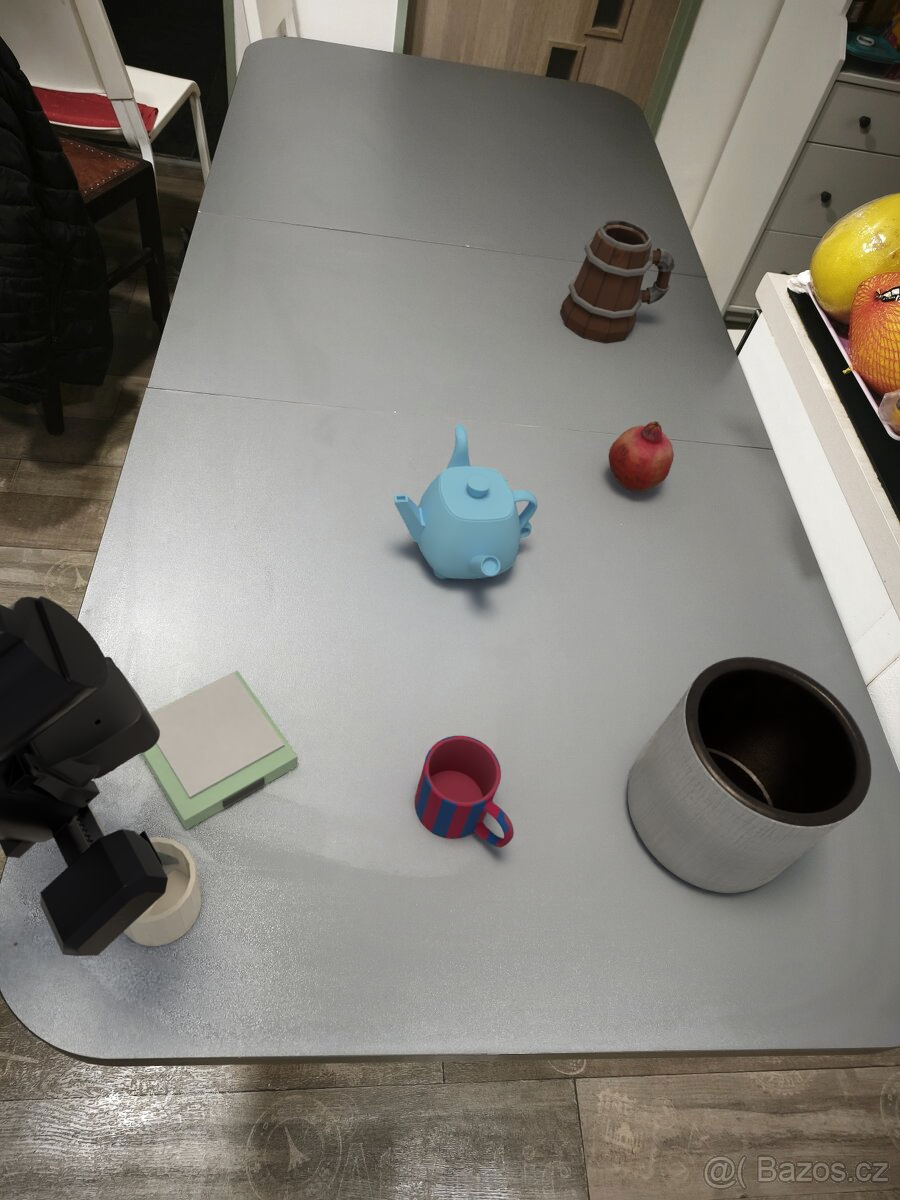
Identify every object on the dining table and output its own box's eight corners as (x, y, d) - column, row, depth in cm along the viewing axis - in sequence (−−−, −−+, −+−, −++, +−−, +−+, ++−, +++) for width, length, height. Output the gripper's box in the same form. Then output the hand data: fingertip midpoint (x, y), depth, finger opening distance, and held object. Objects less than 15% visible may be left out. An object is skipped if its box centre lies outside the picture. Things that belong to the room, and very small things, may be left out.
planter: (814, 883, 76) (913, 813, 64) (658, 911, 72) (733, 842, 60) (742, 732, 85) (816, 646, 73) (601, 749, 81) (655, 661, 69)
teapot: (371, 548, 93) (380, 475, 85) (445, 491, 101) (460, 418, 92) (477, 623, 89) (497, 554, 80) (545, 557, 97) (570, 488, 88)
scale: (187, 832, 70) (184, 820, 68) (129, 735, 74) (125, 722, 73) (298, 767, 75) (299, 755, 73) (238, 681, 80) (237, 667, 78)
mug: (570, 341, 127) (598, 249, 115) (554, 298, 134) (579, 207, 122) (663, 347, 130) (700, 258, 118) (643, 304, 137) (676, 217, 126)
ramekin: (139, 963, 63) (128, 940, 58) (104, 895, 65) (90, 867, 61) (216, 914, 66) (210, 888, 61) (179, 851, 69) (171, 821, 64)
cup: (459, 759, 78) (471, 723, 73) (522, 845, 74) (540, 813, 68) (400, 791, 75) (409, 756, 70) (462, 884, 71) (476, 854, 65)
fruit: (671, 495, 107) (701, 436, 100) (625, 511, 104) (652, 452, 96) (634, 456, 111) (660, 396, 104) (588, 471, 108) (611, 410, 100)
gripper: (144, 803, 38) (300, 838, 52) (6, 560, 47) (170, 644, 61) (-33, 967, 38) (171, 958, 52) (-138, 691, 47) (60, 746, 61)
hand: (144, 813), depth 56 cm, fingers open, 9 cm apart
